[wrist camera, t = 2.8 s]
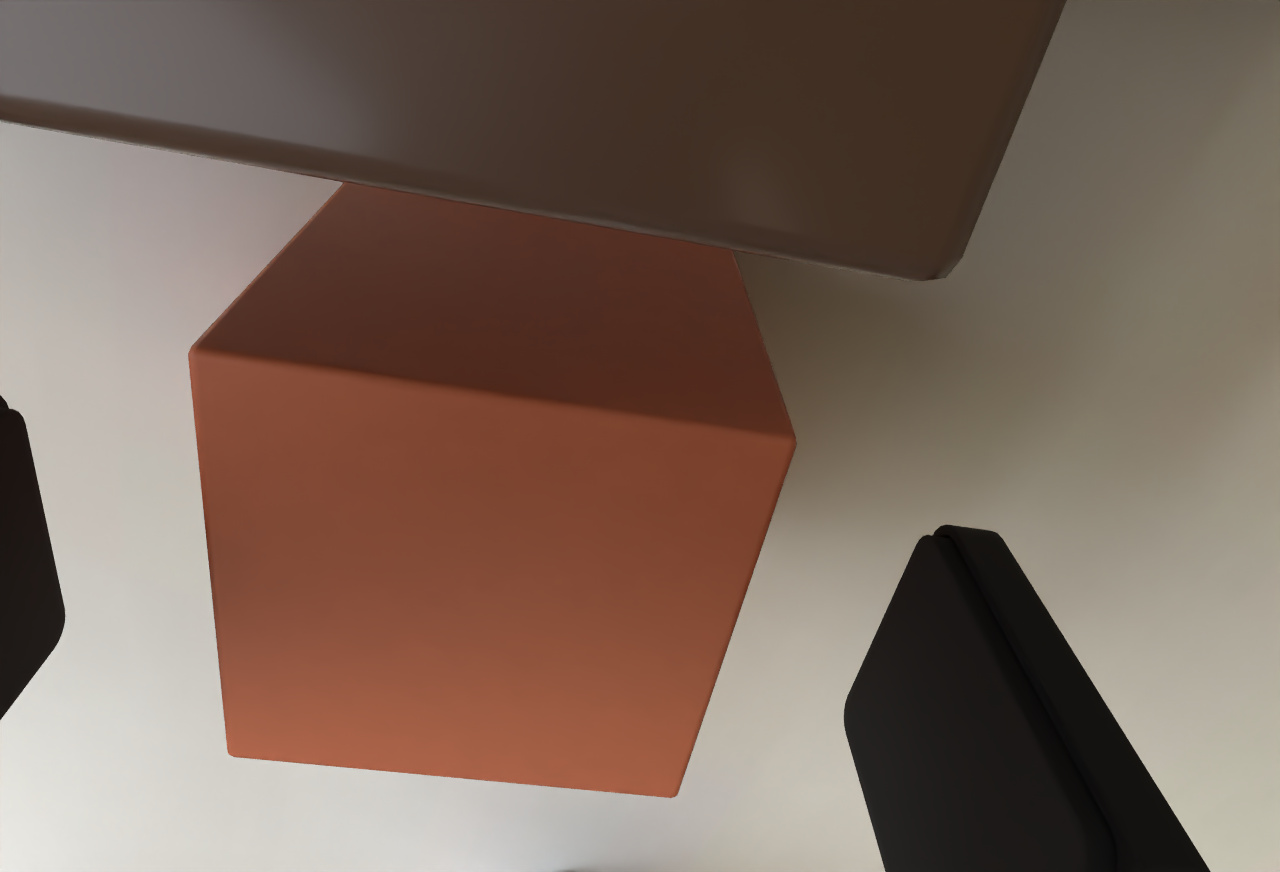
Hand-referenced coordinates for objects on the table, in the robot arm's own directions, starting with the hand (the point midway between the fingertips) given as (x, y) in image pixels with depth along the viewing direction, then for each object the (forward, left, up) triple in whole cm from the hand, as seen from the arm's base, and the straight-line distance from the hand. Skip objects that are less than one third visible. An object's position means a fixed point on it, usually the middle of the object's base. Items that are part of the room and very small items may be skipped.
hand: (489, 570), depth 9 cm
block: (0, 0, -4) cm, 4 cm away
